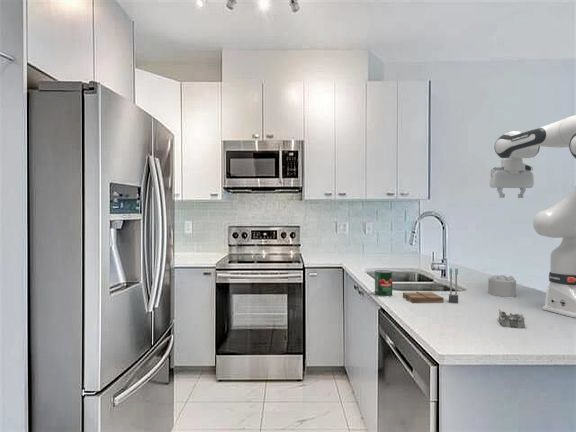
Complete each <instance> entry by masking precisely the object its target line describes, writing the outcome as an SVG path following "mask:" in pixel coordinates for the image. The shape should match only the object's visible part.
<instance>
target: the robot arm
mask: <svg viewBox="0 0 576 432" xmlns="http://www.w3.org/2000/svg"><path fill="white" fill-rule="evenodd" d="M540 147H543V148H545V147H547V148H558V149H559V148H568V149H569V151H570V154H571V155H572V157H574V159H575V160H576V114H574V115H571V116H570V115H569V116H568V117H565V118H562V119H560V120H558V121H557V120H556V121H555V122H552V123H549V124H546V125H543V126H541V127H537V128H535V129H532V130H527V131H524V132H522V131H520V130H511V131H507V132H505V133H504V134H502V135H500V136H499V137H498V138H497V140H495V143H494V148H493V150H494V152H495V154H496V155H497V156H498V158H500V167H499V166H498V167H495V166H494V167H493V168H491V170H490V177H489V187H490V188H492V189H495V188H496V191H497V193H498V194H499V195H498V197H499V199H504V198H505V197H506V194H505V193H504V192H503V189H510V188H511V189H519V191H520V192H519V193H517V198H518V199H523V198H524V194H525V193H526V191H527V190H526V189H531V188H533V186H534V184H535V182H534V178H535V177H534V174H533V171H534V168H533V167H534V166H531V165H529V164H526V163H524V162H523V159H531V158H535V157H536V156H537V155H538V153H539V152H540V149H541V148H540ZM532 225H533V228H534V231H535V233H536V234H538V235H539V236H543V237H548V238H552V239H554V238H562V239H561V243H560V244H559V245H558V247H556V248H554V249H553V250H552V251H551V253H550V271H549V273H548V282H549V284H548V286H547V288H546V292H545V293H546V294H545V302H544V303H545V304H544V305H543V306H542V310H543V311H547V312H551V313H555V314H559V315H562V316H567V317H570V318H575V319H576V185H575V186H574V188H573V189H572V190H571V191H570V192H569V193H568V194H567V195H566V196H565V197H564V198H562V199H561V200H560V201H558V202H557V203H555V204H554V205H552V206H550V207H548V208H546V209H544V210H541V211H539V212H537V213H536V214H535V216H534V218H533V223H532Z"/></svg>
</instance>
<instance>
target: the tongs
mask: <svg viewBox="0 0 576 432" xmlns="http://www.w3.org/2000/svg"><path fill="white" fill-rule="evenodd" d="M454 274H455V278H454V279H455V281H454V285H455V286H454V287H455V288H454V290H455V292H454V294H453V293H452V292H453V291H452V290H453V268H452V267H451V268H449V277H450V278H449V280H450V281H449V286H450V287H449V291H450V292H449V294H448V303H449V304H459V294H458V274H459V269H458V268H455V269H454Z"/></svg>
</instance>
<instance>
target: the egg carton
mask: <svg viewBox="0 0 576 432" xmlns="http://www.w3.org/2000/svg"><path fill="white" fill-rule="evenodd" d="M498 312H499V313H498V321H499V323H500V324H501V326H502V327H505V328H517V329H523V328H525V320H526V318H525V316H524V314H523V313H515V314H512V313H509V314H508V315H507V314H506V311H502V310H501V309H498Z"/></svg>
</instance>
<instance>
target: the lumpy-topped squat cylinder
mask: <svg viewBox="0 0 576 432" xmlns="http://www.w3.org/2000/svg"><path fill="white" fill-rule="evenodd" d="M487 281H488V283H487V285H488V286H487V287H488V290H487V291H488V294H489V295H490V294H491V296H493V295H494V296H493V297H498V296H499V297H498V298H505V297H513V298H516V297H517V280H516V279H515V278H514V276H513V275H512V276H511V275H510V276H507V275H502V274H501V275H498V274H497V275H492V276H491V277H488V279H487Z"/></svg>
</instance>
